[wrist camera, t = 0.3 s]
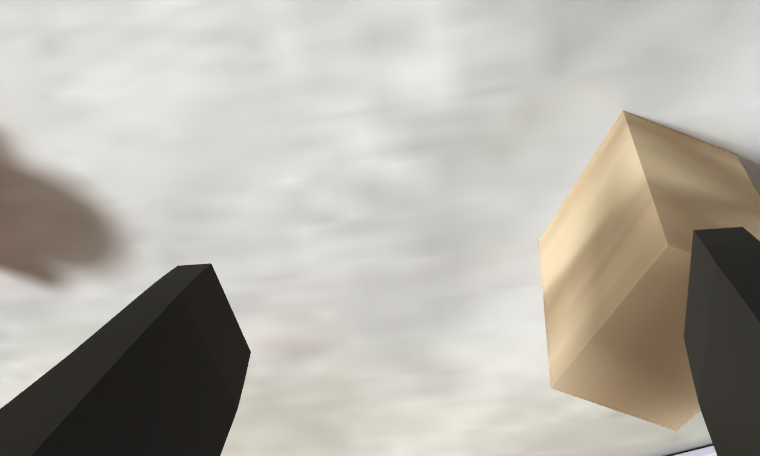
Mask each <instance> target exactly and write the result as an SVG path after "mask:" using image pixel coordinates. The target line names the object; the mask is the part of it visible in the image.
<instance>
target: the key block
mask: <svg viewBox="0 0 760 456" xmlns="http://www.w3.org/2000/svg"><path fill="white" fill-rule="evenodd" d="M731 227H744V228H745V229H746V230H747V231H748V232H750V233H751V234H752V235H753V236H754V237H755V238H757V239H758V240H759V241H760V195H759V193H758V192H757V190H756V188H755V186H754V185H753V183H752V181H751V179H750V178H749V176H748V174H747V172H746V171H745V169H744V167H743V165H742V164H741V162H740V160H739V158H738V157H737V155H736V154H734V153H731V152H729V151H726V150H723V149H721V148H718V147H716V146H713V145H710V144H708V143H705V142H703V141H700V140H698V139H695V138H692V137H690V136H687V135H685V134H682V133H679V132H677V131H674V130H672V129H669V128H667V127H664V126H661V125H659V124H656V123H654V122H651V121H648V120H646V119H643V118H641V117H638V116H635V115H633V114H630V113H628V112H625V111H622V113H621V115H620V116H619V118H618V119H617V121H616V122H615V124H614V125H613V127H612V128H611V130H610V131H609V133H608V135H607V136H606V138H605V139H604V141H603V142H602V144H601V145H600V147H599V148H598V150H597V152H596V153H595V155H594V156H593V158H592V159H591V161H590V162H589V164H588V165H587V167H586V168H585V170H584V172H583V173H582V175H581V176H580V178H579V179H578V181H577V182H576V184H575V185H574V187H573V189H572V190H571V192H570V193H569V195H568V196H567V198H566V199H565V201H564V202H563V204H562V205H561V207H560V209H559V210H558V212H557V213H556V215H555V216H554V218H553V219H552V221H551V222H550V224H549V225H548V227H547V229H546V230H545V232H544V233H543V235H542V236H541V238H540V239H539V252H540V264H541V276H542V288H543V300H544V312H545V324H546V335H547V347H548V359H549V371H550V383H551V388H552V389H555V390H558V391H561V392H564V393H567V394H570V395H573V396H576V397H579V398H582V399H585V400H587V401H590V402H593V403H596V404H599V405H602V406H605V407H608V408H611V409H614V410H617V411H620V412H623V413H625V414H628V415H631V416H634V417H637V418H640V419H643V420H646V421H649V422H652V423H655V424H658V425H660V426H663V427H666V428H669V429H672V430H675V431H678V430H679V429H680V428H681V427H682V426H683V425H684V424H686V423H687V422H688V421H689V420H690V419H691V418H692V417H693V416H694V415H695V414H697V413H698V412H699V411H700V410H701V409H700V406H699V403H698V399H697V395H696V390H695V386H694V382H693V378H692V373H691V369H690V364H689V360H688V355H687V350H686V346H685V341H684V328H685V317H686V306H687V295H688V284H689V273H690V262H691V251H692V240H693V230H702V229H716V228H731Z"/></svg>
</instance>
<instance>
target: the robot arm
mask: <svg viewBox="0 0 760 456" xmlns="http://www.w3.org/2000/svg"><path fill="white" fill-rule="evenodd" d="M684 341H685V346H686V350H687V355H688V360H689V364H690V369H691V373H692V378H693V382H694V386H695V390H696V395H697V399H698V403H699V406H700V409H701V412H702V414H703V417H704V420H705V423H706V426H707V429H708V431H709V434H710V437H711V440H712V443H713V445H714V446H710V447H706V448H702V449H698V450H693V451H689V452H685V453H681V454H677V455H673V456H760V241H759V240H758V239H757V238H755V237H754V236H753V235H752V234H751V233H750V232H748V231H747V230H746V229H745V228H744V227H731V228H716V229H702V230H693V240H692V251H691V262H690V273H689V284H688V295H687V306H686V317H685V328H684ZM250 353H251V352H250V349H249V347H248V345H247V343H246V340H245V338H244V336H243V334H242V331H241V329H240V327H239V325H238V322H237V320H236V318H235V316H234V313H233V311H232V309H231V307H230V304H229V302H228V300H227V298H226V295H225V293H224V291H223V289H222V286H221V284H220V282H219V280H218V278H217V275H216V273H215V271H214V269H213V266H212V264H198V265H183V266H177V267H175V268H174V269H173V270H171V271H170V272H168V273H167V274H166V275H164V276H163V277H162V278H161V279H159V280H158V281H157V282H155V283H154V284H153V285H152V286H151V287H149V288H148V289H147V290H146V291H144V292H143V293H142V294H141V295H140V296H138V297H137V298H136V299H135V300H134V301H132V302H131V303H130V304H129V305H128V306H127V307H125V308H124V309H123V310H122V311H121V312H119V313H118V314H117V315H116V316H115V317H114V318H112V319H111V320H110V321H109V322H108V323H106V324H105V325H104V326H103V327H102V328H101V329H99V330H98V331H97V332H96V333H95V334H93V335H92V336H91V337H90V338H89V339H87V340H86V341H85V342H84V343H83V344H81V345H80V346H79V347H78V348H77V349H76V350H74V351H73V352H72V353H71V354H70V355H68V356H67V357H66V358H65V359H63V360H62V361H61V362H60V363H58V364H57V365H56V366H55V367H53V368H52V369H51V370H49V371H48V372H47V373H46V374H44V375H43V376H42V377H41V378H39V379H38V380H37V381H36V382H34V383H33V384H32V385H30V386H29V387H28V388H27V389H25V390H24V391H23V392H22V393H20V394H19V395H18V396H16V397H15V398H14V399H13V400H11V401H10V402H9V403H8V404H6V405H5V406H4V407H2V408H1V409H0V456H220V454H221V452H222V449H223V447H224V444H225V441H226V439H227V436H228V433H229V431H230V428H231V425H232V423H233V420H234V417H235V414H236V412H237V409H238V405H239V401H240V397H241V393H242V389H243V385H244V381H245V376H246V372H247V367H248V362H249V358H250Z"/></svg>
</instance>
